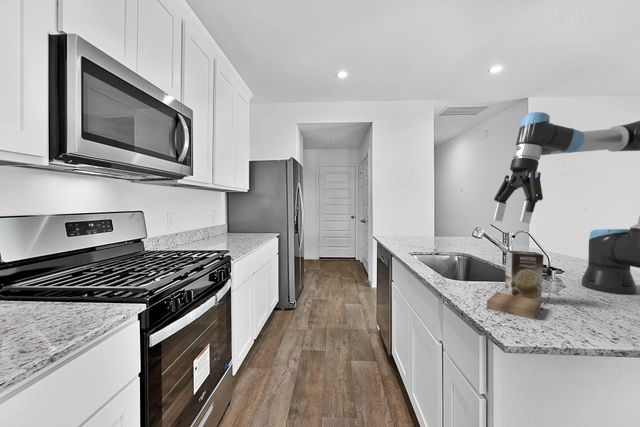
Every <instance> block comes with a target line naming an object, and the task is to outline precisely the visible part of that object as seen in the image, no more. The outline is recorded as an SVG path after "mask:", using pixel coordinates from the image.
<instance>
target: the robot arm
mask: <svg viewBox="0 0 640 427" xmlns="http://www.w3.org/2000/svg"><path fill="white" fill-rule="evenodd" d="M550 118H551V117H550V114H548V113H547V112H542V111H533V112H529V113H527V114H525V115H523V118H522V119H521V122H520V126H519V130H518V135H517V137H516V138H517V140H516V142H515V147H514V152H513V155H512V158H513V159H512V160H511V164H510V167H509V169H510V171H511V172H512V173H511V175H505V176H504V180H503V181H502V184H501V185H500V187H499V189H498V190H497V193H496V195H495V196H494V198H493V200H494V201H495V202H496V203H497V204H496V207H495V213H494V217H493V220H494V221H496V222H503V220H504V215H505V212H506V207H507V201H508V200H509V198H510V197H511V196H512V195H513V193H515V191H516V190H518V189H520V188H522V190H523V192H524V195H525V201H524V203H523V207H522V211H521V216H520V220H519V222H520V223H521V222H522V223H525V224H531V221H532V216H533V213H534V211H535V207H536V204H537V203H538V201H543V199H544V197H543V196H544V195H543V190H542V183H541V174H542V173H541V172H540V171H538V167H539V164H540V163H539V161H540V160H541V156H547V155H558V154H560V155H561V154H572V153H583V152H593V151H606V150H607V151H609V152H613V153H614V152H640V120H637V121H634V122H631V123H626V124H622V125H615V126H611V127H610V128H607V129H596V130H595V129H594V130H586V131H585V130H584V131H582V130H579V129H576V128H573V127H572V128H571V127H565V126H562V125H558V124H554V123H552V122H550ZM587 258H588V259H587V260H588V263H587V265H588V266H587V268H586V270H585V272H584V274H583V276H582V278H581V286H582V287H585V288H588V289H591V290H595V291H600V292H606V293H612V294H620V295H621V294H623V295H633V294H636V293H637V284H636V283H635V280H634V277H633V275H632V273H631V267H633V268H639V269H640V215H639V217H638V221H637V223H636V224H634V225H632V226H630V228H629V229H628V228H626V229H625V228H617V229H616V228H615V229H614V228H613V229H611V228H610V229H609V228H608V229H607V228H606V229H593V230H591V231H590V232H589V238H588V256H587Z"/></svg>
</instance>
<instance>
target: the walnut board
mask: <svg viewBox="0 0 640 427" xmlns="http://www.w3.org/2000/svg"><path fill="white" fill-rule="evenodd" d="M541 308H542V299H541V300H536V299H531V298H525V297H520V296H515V295H510V294H505V292H499V291H496V293H494V294H493V295H491V297H489V298H488V299H487V300H486V309H488V310H494V311H497V312H501V313H506V314H510V315H514V316H519V317H522V318H523V317H524V318H527V319H532V320H535V318H536V317H537V315H538V314H539V312H540V311H541Z"/></svg>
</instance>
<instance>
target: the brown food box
mask: <svg viewBox="0 0 640 427" xmlns="http://www.w3.org/2000/svg"><path fill="white" fill-rule="evenodd" d="M544 256H545V255H544V254H542V253H539V252H535V251H520V250H506V260H505V262H506V263H505V280H504V293H505V294H510V295H515V296H520V297H525V298H531V299H536V300H541V301H542V292H543V272H544Z"/></svg>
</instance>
